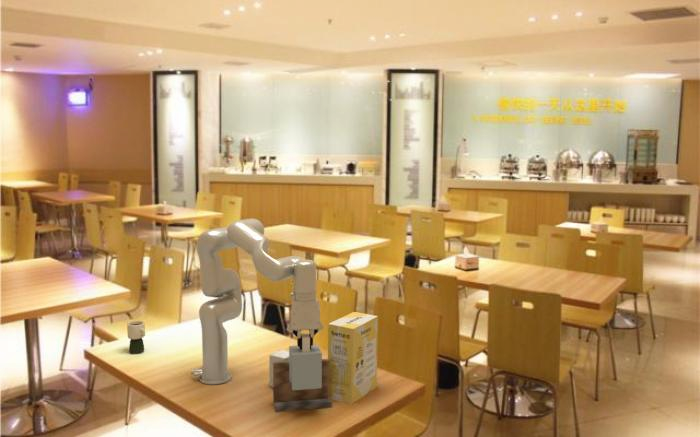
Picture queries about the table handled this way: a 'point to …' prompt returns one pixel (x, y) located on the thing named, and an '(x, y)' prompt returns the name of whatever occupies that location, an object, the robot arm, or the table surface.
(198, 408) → the table surface
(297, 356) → the slate cabinet
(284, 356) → the supplement box
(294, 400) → the walnut wall board
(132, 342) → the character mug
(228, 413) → the table surface
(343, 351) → the pasta box
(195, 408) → the table surface
